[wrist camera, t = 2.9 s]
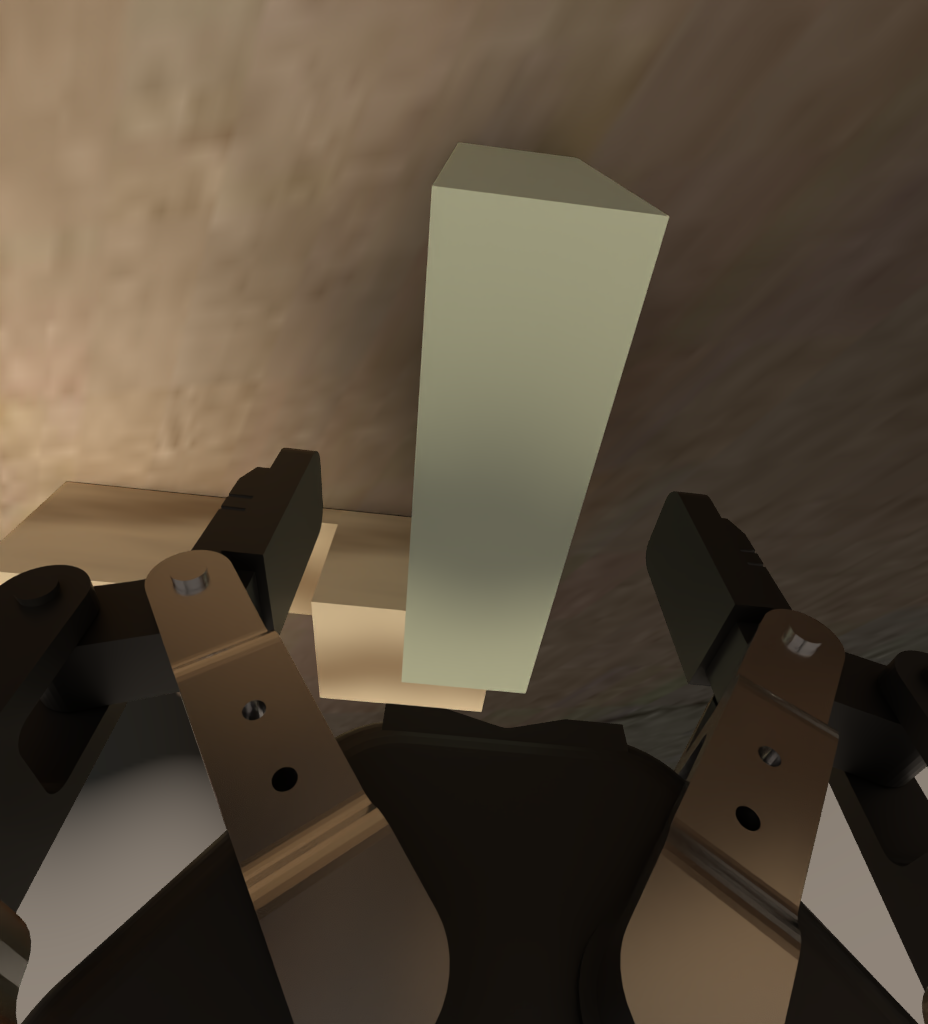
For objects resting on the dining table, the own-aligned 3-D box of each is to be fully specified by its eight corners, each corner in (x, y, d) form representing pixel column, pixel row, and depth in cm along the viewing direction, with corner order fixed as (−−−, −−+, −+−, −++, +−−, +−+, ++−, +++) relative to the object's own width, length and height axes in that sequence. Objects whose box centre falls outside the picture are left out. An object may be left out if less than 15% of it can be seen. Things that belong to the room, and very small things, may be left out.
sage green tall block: (458, 141, 16) (431, 186, 8) (576, 157, 16) (669, 216, 8) (429, 480, 23) (401, 682, 15) (511, 489, 23) (525, 693, 15)
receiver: (66, 481, 23) (-30, 569, 19) (498, 526, 24) (501, 620, 20) (106, 580, 27) (34, 672, 23) (481, 616, 28) (481, 711, 24)
